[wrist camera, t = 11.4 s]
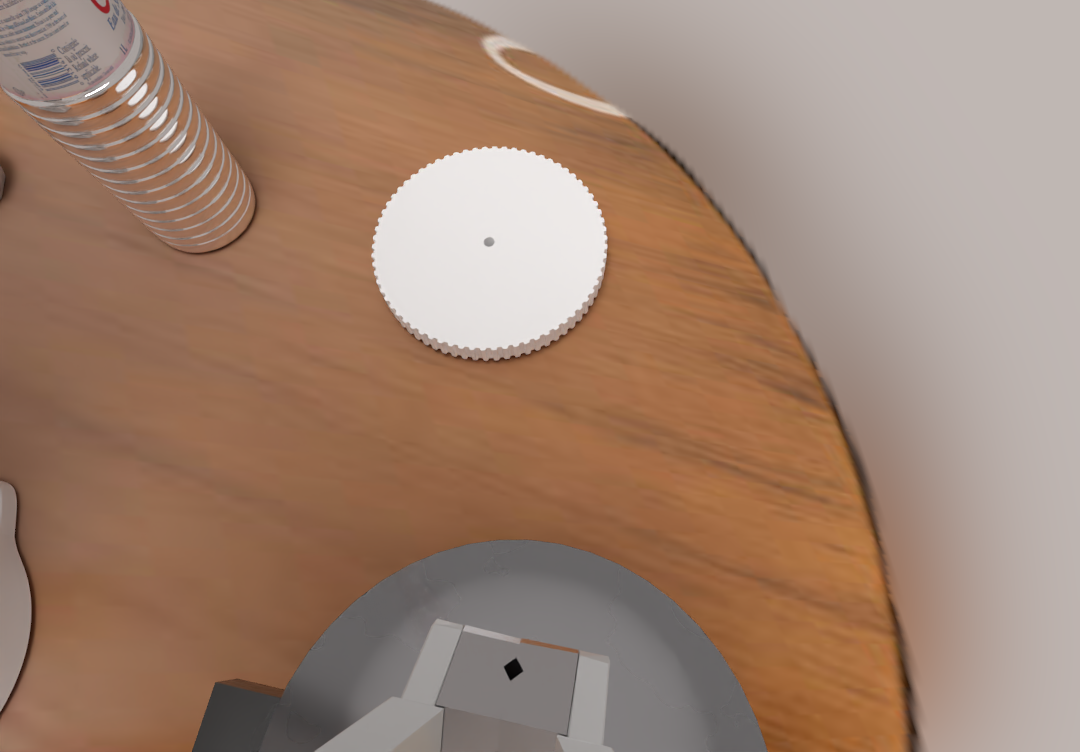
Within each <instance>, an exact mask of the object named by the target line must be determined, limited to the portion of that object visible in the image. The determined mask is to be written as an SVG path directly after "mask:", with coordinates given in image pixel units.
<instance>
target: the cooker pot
mask: <svg viewBox="0 0 1080 752" xmlns="http://www.w3.org/2000/svg"><path fill="white" fill-rule="evenodd" d="M284 691H285V690H283V689H279V688H275V687H271V686H266V685H262V684H258V683H254V682H250V681H245V680H241V679H233V680H227V681H221V682H215V685H214V688H213V691H212V694H211V697H210V700H209V703H208V706H207V709H206V712H205V715H204V718H203V720H202V723H201V726H200V729H199V732H198V735H197V738H196V741H195V744H194V747H193V750H192V752H259V750H260V747H261V744H262V742H263V739H264V736H265V734H266V731H267V728H268V726H269V723H270V720H271V717H272V715H273V713H274V711H275V709H276V707H277V705H278V703H279V701H280V699H281V697H282V695H283V693H284Z"/></svg>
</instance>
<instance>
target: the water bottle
mask: <svg viewBox="0 0 1080 752" xmlns="http://www.w3.org/2000/svg"><path fill="white" fill-rule="evenodd" d="M0 86H1V88H2V89H3V91H4V92H5V93H6V94H7V95H8V96H9V97H10V98H11V99H12V100H13V101H14V102H15V103H16V104H17V105H19V106H20V107H21V108H22V109H23V110H24V112H25V113H26V114H28V115H29V116H30V117H31V118H32V119H33V120H35V122H36V123H37V124H38V125H39V126H40V127H41V128H42V129H43V130H45V131H46V132H47V133H48V134H49V135H50V136H51V137H52V138H53V139H54V140H55V141H56V142H57V143H58V144H59V145H61V146H62V147H63V148H64V149H65V151H66V152H67V153H69V154H70V155H71V156H72V157H73V158H74V159H75V160H76V161H77V162H78V163H79V164H80V165H81V166H82V167H84V168H85V169H86V170H87V171H88V172H89V173H90V174H91V175H92V176H93V177H94V178H95V179H96V180H97V181H98V182H99V183H100V184H101V185H102V186H103V187H104V188H106V189H107V190H108V191H109V192H110V193H111V194H112V195H113V196H114V197H115V198H116V199H117V200H118V201H119V202H120V203H121V204H122V205H123V206H124V207H126V208H127V209H128V210H129V211H130V212H131V213H132V214H133V215H134V216H135V217H136V218H137V219H138V220H139V221H140V222H141V223H142V224H143V225H144V226H146V227H147V228H148V229H149V230H150V231H151V232H152V233H153V234H154V235H155V236H157V237H158V238H159V239H160V240H162V241H163V242H164V243H166V244H167V245H169V246H171V247H173V248H175V249H178V250H181V251H185V252H191V253H202V252H208V251H213V250H216V249H219V248H221V247H223V246H225V245H227V244H229V243H231V242H232V241H234V240H235V239H236V238H237V237H238V236H240V235H241V234H242V233H243V231H244V230H245V229H246V228H247V226H248V225H249V223H250V221H251V219H252V217H253V214H254V210H255V194H254V191H253V188H252V185H251V183H250V181H249V179H248V178H247V176H246V174H245V172H244V171H243V169H242V168H241V167H240V165H239V164H238V162H237V161H236V159H235V158H234V157H233V156H232V154H231V152H230V151H229V149H228V148H227V147H226V146H225V144H224V142H223V141H222V139H221V138H220V137H219V136H218V134H217V133H216V131H215V130H214V128H213V127H212V126H211V124H210V123H209V121H208V120H207V118H206V117H205V115H204V114H203V113H202V112H201V110H200V108H199V107H198V105H197V104H196V103H195V102H194V100H193V99H192V97H191V95H190V94H189V93H188V91H187V90H186V89H185V88H184V86H183V84H182V83H181V81H180V80H179V79H178V77H177V76H176V75H175V73H174V71H173V70H172V69H171V67H170V66H169V64H168V63H167V62H166V61H165V59H164V57H163V56H162V54H161V53H160V52H159V50H158V49H157V48H156V47H155V45H154V43H153V42H152V40H151V39H150V37H149V36H148V35H147V33H146V32H145V31H144V29H143V27H142V26H141V25H140V23H139V22H138V20H137V19H136V18H135V17H134V15H133V14H132V13H131V12H130V11H128V10H127V9H126V8H125V6H124V5H123V3H122V2H121V1H120V0H0Z"/></svg>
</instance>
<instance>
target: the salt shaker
mask: <svg viewBox="0 0 1080 752" xmlns="http://www.w3.org/2000/svg"><path fill="white" fill-rule="evenodd" d="M5 177H6V176H5V174H4V172H3V169H2V167H1V165H0V199H1V198H2V194H3V188H4V183H5Z"/></svg>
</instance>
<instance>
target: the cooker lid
mask: <svg viewBox="0 0 1080 752" xmlns="http://www.w3.org/2000/svg"><path fill="white" fill-rule="evenodd" d="M436 619H441V620H445V621H449V622H454V623H458V624H462V625H468V626H472V627H476V628H480V629H484V630H488V631H492V632H496V633H500V634H504V635H508V636H512V637H516V638H520V639H522V638H524V639H529V640H533V641H538V642H543V643H548V644H553V645H558V646H562V647H567V648H572V649H577V650H579V651H580V650H581V651H585V652H590V653H595V654H600V655H604V656H609V660H610V670H609V682H608V694H607V706H606V718H605V730H604V742H603V745H604V746H608V747H611V748H613V750H614V752H768V751H767V748H766V745H765V742H764V739H763V737H762V734H761V731H760V728H759V725H758V722H757V719H756V717H755V715H754V713H753V711H752V709H751V707H750V704H749V702H748V700H747V698H746V696H745V694H744V692H743V690H742V688H741V685H740V684H739V682H738V680H737V679H736V677H735V676H734V674H733V672H732V671H731V669H730V668H729V666H728V664H727V663H726V661H725V660H724V658H723V656H722V655H721V653H720V652H719V651H718V649H717V648H716V647H715V646H714V644H713V643H712V642H711V641H710V639H709V638H708V637H707V636H706V634H705V633H704V632H703V631H702V629H701V628H700V627H699V626H698V625H697V624H696V623H695V622H694V621H693V620H692V619H691V618H690V617H689V616H688V615H687V614H686V613H685V612H684V611H683V610H682V609H681V608H680V607H679V606H678V605H677V604H676V603H675V602H674V601H673V600H672V599H670V598H669V597H668V596H666V595H665V594H664V593H662V592H661V591H660V590H658V589H657V588H656V587H655V586H653V585H652V584H651V583H649V582H648V581H647V580H645V579H643V578H641V577H640V576H638V575H636V574H635V573H633V572H631V571H629V570H628V569H626V568H624V567H623V566H621V565H619V564H617V563H614V562H612V561H610V560H607V559H605V558H603V557H600V556H598V555H595V554H593V553H591V552H587V551H584V550H580V549H576V548H573V547H569V546H565V545H562V544H556V543H549V542H541V541H534V540H496V541H488V542H481V543H473V544H467V545H464V546H460V547H456V548H453V549H449V550H446V551H442V552H438V553H436V554H434V555H431V556H429V557H427V558H424V559H422V560H419V561H417V562H415V563H412V564H410V565H408V566H406V567H405V568H403V569H401V570H399V571H398V572H396V573H394V574H393V575H391V576H389V577H387V578H386V579H384V580H382V581H381V582H380V583H378V584H377V585H376V586H374V587H373V588H372V589H370V590H369V591H368V592H366V593H365V594H364V595H362V596H361V597H360V598H358V599H357V600H356V601H355V602H354V603H353V604H352V605H351V606H349V607H348V608H347V609H346V610H345V611H344V612H343V613H342V614H341V615H340V616H339V617H338V618H337V619H336V620H335V621H334V622H333V623H332V624H331V625H330V626H329V627H328V629H327V630H326V631H325V632H324V633H323V635H322V636H321V637H320V638H319V640H318V641H317V642H316V643H315V644H314V646H313V647H312V648H311V649H310V651H309V652H308V653H307V655H306V656H305V658H304V660H303V661H302V663H301V664H300V666H299V667H298V669H297V670H296V672H295V673H294V675H293V677H292V678H291V680H290V681H289V683H288V685H287V687H286V689H285V691H284V693H283V695H282V697H281V699H280V701H279V703H278V705H277V707H276V709H275V711H274V713H273V715H272V717H271V720H270V723H269V726H268V728H267V731H266V734H265V736H264V739H263V742H262V744H261V747H260V750H259V752H314V751H315V750H317V749H318V748H320V747H321V746H322V745H324V744H325V743H327V742H328V741H329V740H331V739H332V738H334V737H335V736H337V735H338V734H339V733H341V732H342V731H344V730H345V729H346V728H348V727H349V726H351V725H352V724H354V723H355V722H356V721H358V720H359V719H361V718H362V717H363V716H365V715H366V714H368V713H369V712H370V711H372V710H373V709H375V708H376V707H378V706H379V705H380V704H382V703H383V702H385V701H386V700H387V699H389V698H390V697H392V696H393V697H398V698H401V696H402V694H403V691H404V689H405V687H406V684H407V682H408V680H409V677H410V675H411V673H412V670H413V668H414V666H415V663H416V661H417V658H418V656H419V654H420V651H421V649H422V647H423V644H424V642H425V640H426V637H427V635H428V633H429V630H430V628H431V626H432V624H433V623H434V622H435V620H436Z"/></svg>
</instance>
